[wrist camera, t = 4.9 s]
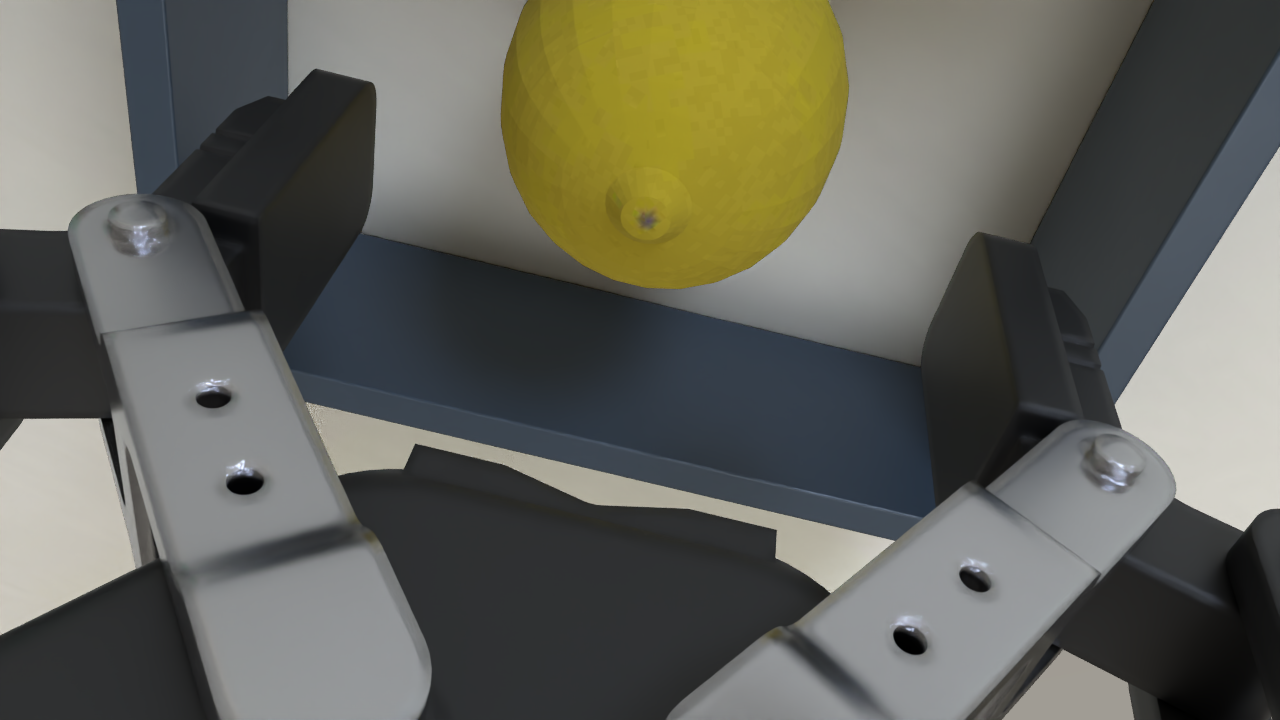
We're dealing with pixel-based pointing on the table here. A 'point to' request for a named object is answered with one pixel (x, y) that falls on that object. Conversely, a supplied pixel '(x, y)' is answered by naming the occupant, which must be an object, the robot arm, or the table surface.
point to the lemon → (672, 129)
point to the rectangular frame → (716, 349)
